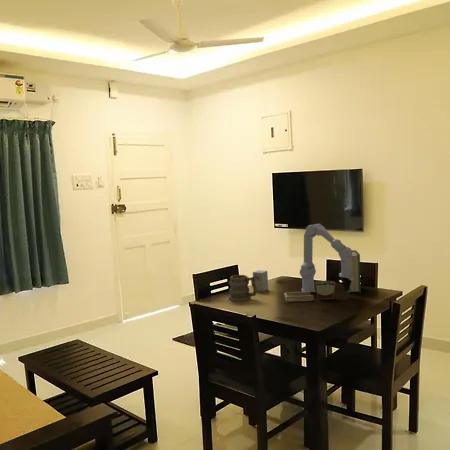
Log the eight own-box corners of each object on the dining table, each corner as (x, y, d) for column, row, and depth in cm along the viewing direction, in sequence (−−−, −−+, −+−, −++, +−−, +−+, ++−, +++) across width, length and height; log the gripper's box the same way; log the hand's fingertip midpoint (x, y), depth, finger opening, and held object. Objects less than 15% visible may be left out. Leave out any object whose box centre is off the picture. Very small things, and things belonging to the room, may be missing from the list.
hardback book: (360, 292, 298) (359, 254, 296) (348, 293, 299) (347, 254, 297) (357, 286, 315) (356, 250, 313) (345, 286, 316) (344, 250, 314)
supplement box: (259, 288, 324) (258, 270, 323) (268, 289, 320) (267, 270, 319) (253, 290, 318) (252, 272, 317) (262, 291, 314) (261, 272, 313)
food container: (335, 296, 292) (334, 280, 292) (336, 298, 286) (335, 282, 285) (314, 296, 294) (313, 280, 293) (315, 299, 288) (314, 282, 287)
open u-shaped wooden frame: (284, 297, 296) (284, 292, 296) (310, 296, 296) (310, 291, 295) (286, 301, 285) (286, 296, 285) (313, 300, 285) (313, 295, 284)
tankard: (226, 300, 296) (225, 276, 295) (234, 295, 307) (233, 272, 306) (256, 302, 287) (255, 277, 286) (264, 297, 299) (263, 273, 297)
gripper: (334, 266, 294) (334, 288, 295) (346, 270, 280) (346, 293, 281) (344, 265, 296) (345, 287, 297) (356, 269, 282) (357, 292, 283)
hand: (346, 290), depth 289 cm, fingers closed
